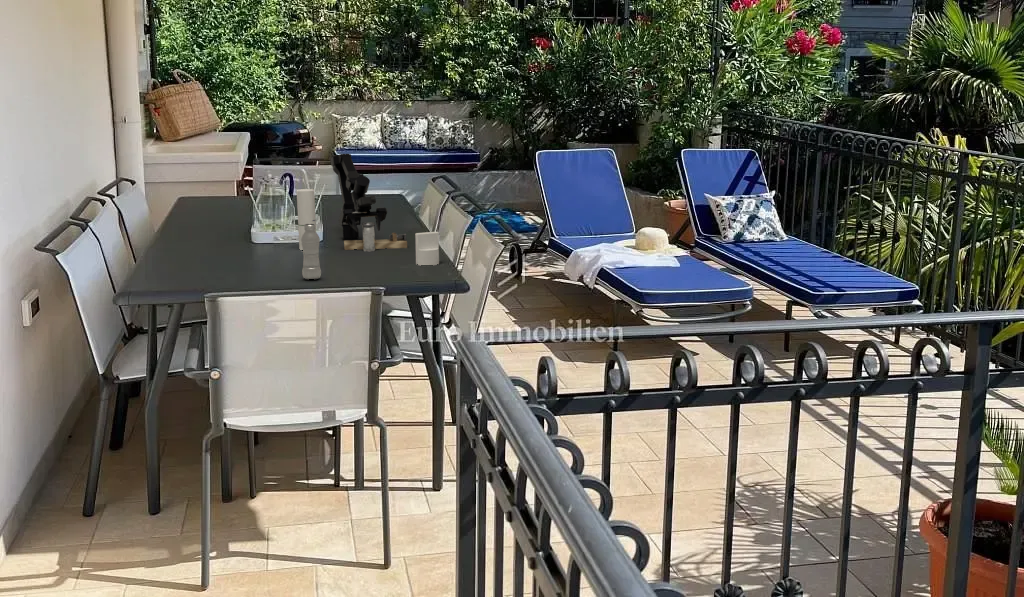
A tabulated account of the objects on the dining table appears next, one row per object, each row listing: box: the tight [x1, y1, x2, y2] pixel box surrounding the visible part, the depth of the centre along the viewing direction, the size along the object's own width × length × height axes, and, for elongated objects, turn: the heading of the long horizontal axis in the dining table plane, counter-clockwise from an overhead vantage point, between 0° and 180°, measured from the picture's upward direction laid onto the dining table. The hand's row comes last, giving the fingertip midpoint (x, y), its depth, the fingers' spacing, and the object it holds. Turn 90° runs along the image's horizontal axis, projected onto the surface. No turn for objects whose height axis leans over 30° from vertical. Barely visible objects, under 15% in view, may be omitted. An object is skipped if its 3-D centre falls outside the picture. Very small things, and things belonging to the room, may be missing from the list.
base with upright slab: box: [414, 231, 440, 266], centre depth 392 cm, size 9×9×12 cm
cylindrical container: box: [296, 188, 317, 251], centre depth 419 cm, size 7×7×25 cm
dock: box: [343, 232, 408, 251], centre depth 428 cm, size 26×8×6 cm, turn 101°
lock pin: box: [388, 233, 407, 241], centre depth 429 cm, size 7×2×2 cm, turn 101°
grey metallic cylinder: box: [361, 221, 376, 253], centre depth 419 cm, size 5×5×12 cm
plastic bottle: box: [301, 224, 322, 280], centre depth 363 cm, size 6×7×20 cm
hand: (368, 230), depth 419 cm, fingers open, 9 cm apart
